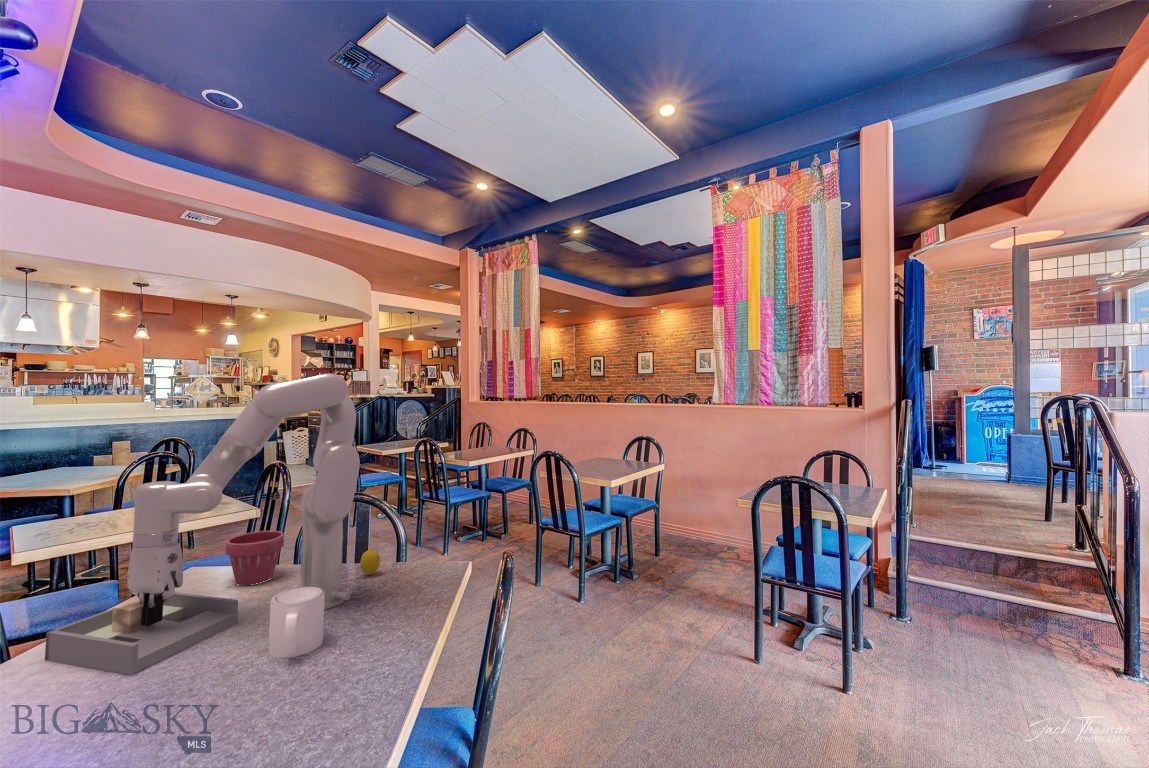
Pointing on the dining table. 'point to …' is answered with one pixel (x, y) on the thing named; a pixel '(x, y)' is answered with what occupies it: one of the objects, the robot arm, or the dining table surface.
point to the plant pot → (254, 555)
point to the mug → (296, 621)
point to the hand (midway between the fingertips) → (151, 623)
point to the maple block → (127, 617)
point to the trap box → (140, 635)
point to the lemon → (370, 561)
